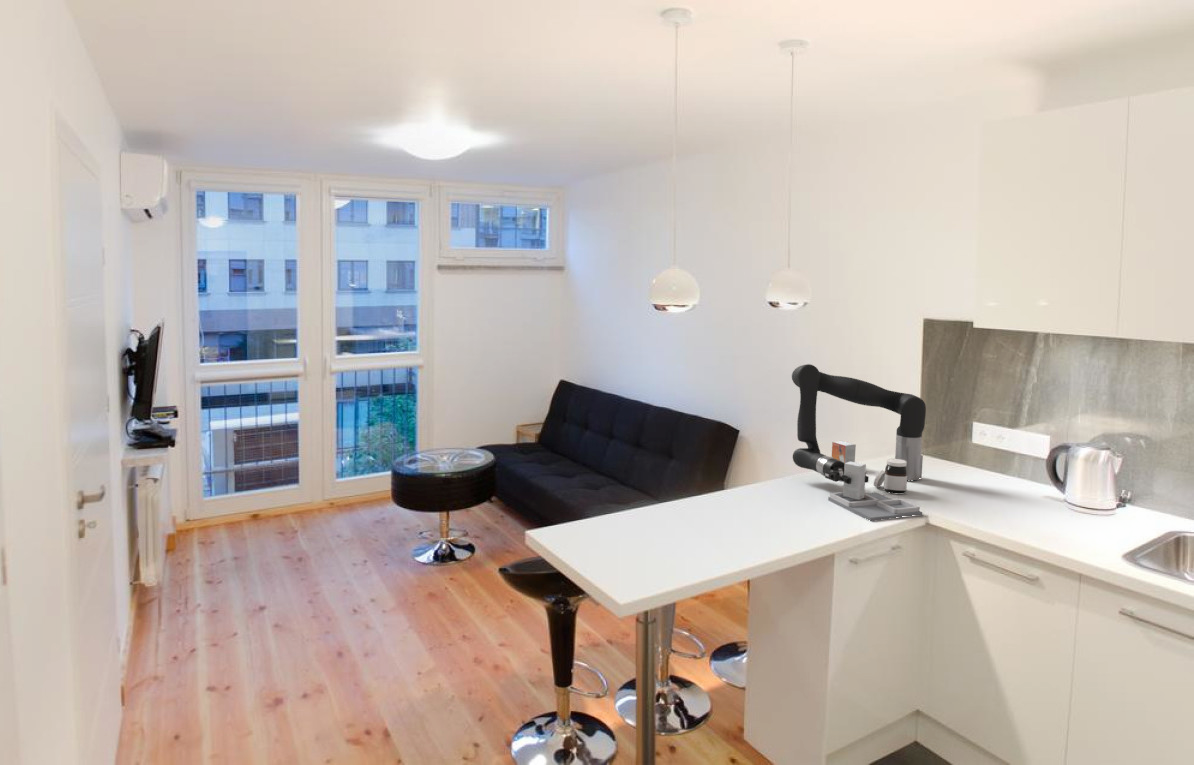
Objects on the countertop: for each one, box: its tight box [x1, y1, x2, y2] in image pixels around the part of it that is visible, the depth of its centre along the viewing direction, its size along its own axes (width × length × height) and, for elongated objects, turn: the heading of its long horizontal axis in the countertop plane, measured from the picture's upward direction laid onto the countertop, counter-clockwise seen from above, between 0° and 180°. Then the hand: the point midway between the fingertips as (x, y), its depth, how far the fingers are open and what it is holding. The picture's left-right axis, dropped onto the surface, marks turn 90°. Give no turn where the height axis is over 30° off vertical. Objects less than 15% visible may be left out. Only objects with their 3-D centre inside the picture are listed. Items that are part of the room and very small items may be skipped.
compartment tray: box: [827, 491, 923, 522], centre depth 254 cm, size 20×24×3 cm
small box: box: [831, 440, 856, 463], centre depth 307 cm, size 8×6×10 cm
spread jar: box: [873, 458, 908, 494], centre depth 274 cm, size 12×11×12 cm
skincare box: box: [842, 461, 867, 500], centre depth 257 cm, size 6×4×12 cm
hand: (858, 480), depth 255 cm, fingers closed on skincare box, 6 cm apart
